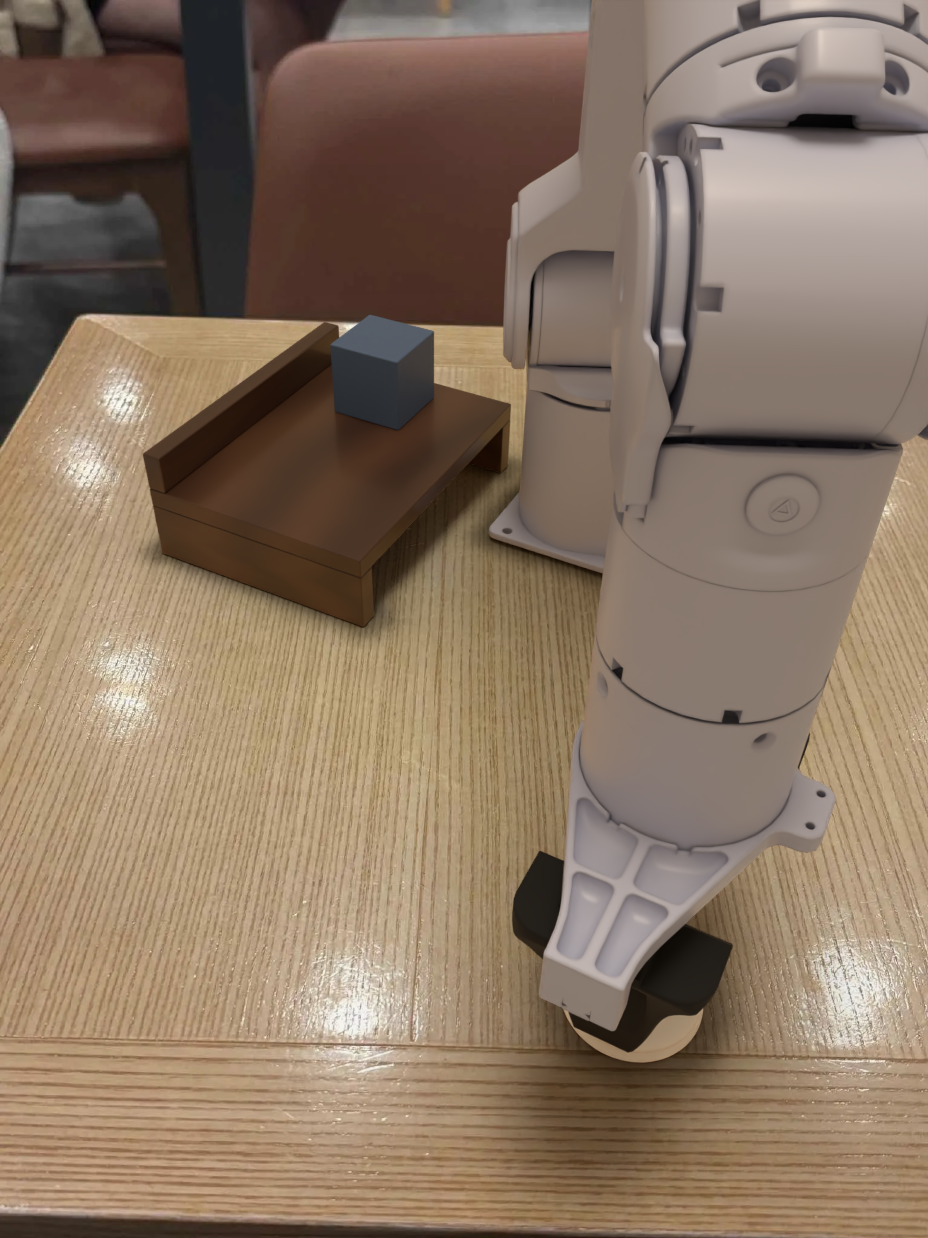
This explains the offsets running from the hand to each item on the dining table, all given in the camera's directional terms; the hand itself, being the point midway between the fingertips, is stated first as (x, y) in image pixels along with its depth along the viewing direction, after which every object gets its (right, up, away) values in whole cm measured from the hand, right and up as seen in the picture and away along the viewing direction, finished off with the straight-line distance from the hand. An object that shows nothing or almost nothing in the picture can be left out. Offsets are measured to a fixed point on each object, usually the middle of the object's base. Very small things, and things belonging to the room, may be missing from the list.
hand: (641, 948), depth 36 cm
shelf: (-12, +17, +23) cm, 31 cm away
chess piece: (0, -2, +2) cm, 3 cm away
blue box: (-10, +23, +24) cm, 34 cm away
